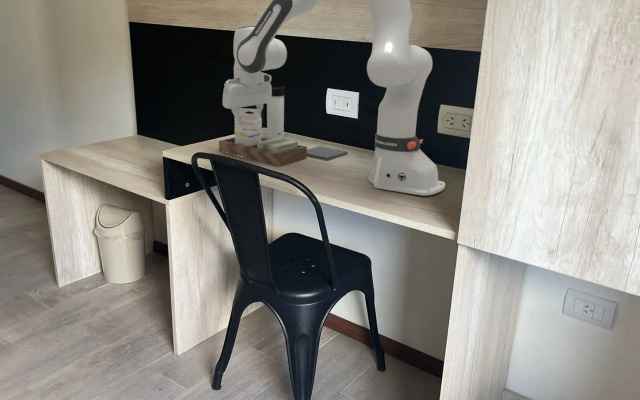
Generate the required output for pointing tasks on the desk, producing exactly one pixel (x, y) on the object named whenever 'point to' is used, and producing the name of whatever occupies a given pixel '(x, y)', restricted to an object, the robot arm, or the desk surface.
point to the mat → (325, 153)
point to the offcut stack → (277, 145)
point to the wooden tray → (263, 152)
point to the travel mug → (276, 114)
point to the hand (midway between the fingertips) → (247, 119)
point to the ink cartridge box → (248, 127)
